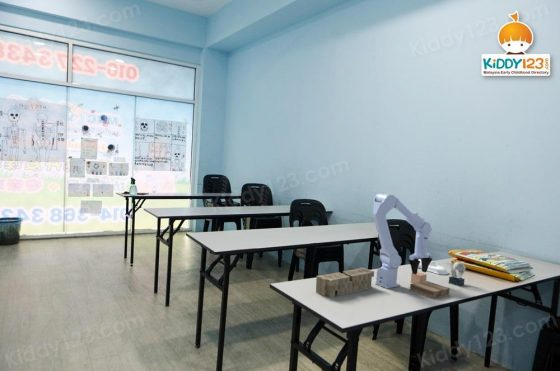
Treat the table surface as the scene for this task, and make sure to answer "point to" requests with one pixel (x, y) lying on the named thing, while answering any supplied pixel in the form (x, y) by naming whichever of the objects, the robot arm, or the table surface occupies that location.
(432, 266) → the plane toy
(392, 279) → the robot arm
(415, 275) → the cube
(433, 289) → the base block
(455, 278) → the watch
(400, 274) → the table surface
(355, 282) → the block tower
